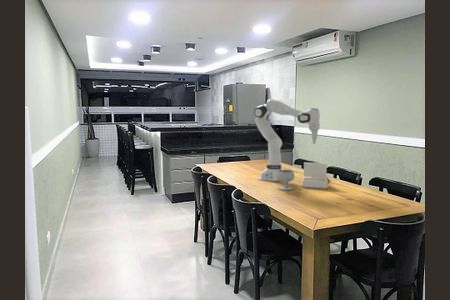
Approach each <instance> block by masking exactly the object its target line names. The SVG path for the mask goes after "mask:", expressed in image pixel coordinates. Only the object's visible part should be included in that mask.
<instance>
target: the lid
mask: <svg viewBox="0 0 450 300" xmlns="http://www.w3.org/2000/svg"><path fill="white" fill-rule="evenodd" d="M327 168H328V163H327V162H326V163H323V162H303V177H311V178H312V177H324V178H326V177H327Z"/></svg>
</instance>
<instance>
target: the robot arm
mask: <svg viewBox="0 0 450 300" xmlns="http://www.w3.org/2000/svg"><path fill="white" fill-rule="evenodd" d="M253 113H254V116H255V117H256V118H255V119H254V123H255V125H256V127H257V129H258V131H259V132H260V133H261V135H262V137H263V138H264V139H265V141H267V149H268V163H267V164H266V168H265V169H263V170H262V171H261V173H260V176H258V177H257V180H259V181H268V182H278V181H279V182H280V180H279V179H278V178H277V174H278V171H279V170H282V155H281V147H282V146H283V141H282V139H281V138H280V136H279V135H278V134H277V132H276V131H274V129H273V127H272V126H271V124H270V123H269V121H268V120H267V118H268V117H269V116H270V115H271V114H272V113H275V114H277V115H281V116H290V117H291V116H292V117H293V118H294V117H295V118H297V121H298V122H299V123H301V124H303V125H304V124H306V125H307V124H308V130H310V132H311V139H312V144H313V145H316V141H317V139H318V132H319V130H320V128H321V127H320V126H321V125H320V124H321V123H320V115H321V114H320V110H319V109H318V108H313V107H312V108H311V107H310V108H309V109H307V110H305V111H301V110H298V109H296V108H293V107H292V106H290V105H288V104H286V103H284V102H283V101H280V100H276V99H273V98H271V99H270V98H269V99H268V100H267V102H266V103H265V104H261V105H259V106H256V107H255V108H254V111H253Z"/></svg>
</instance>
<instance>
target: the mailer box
mask: <svg viewBox="0 0 450 300" xmlns="http://www.w3.org/2000/svg"><path fill="white" fill-rule="evenodd" d="M327 178H328V177H327ZM327 178H312V177H304V176H303V177H302V188H309V189H310V188H311V189H326V190H327V189H328V183H329V181H327Z"/></svg>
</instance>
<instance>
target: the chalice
mask: <svg viewBox="0 0 450 300" xmlns="http://www.w3.org/2000/svg"><path fill="white" fill-rule="evenodd" d="M277 178H278V179H279V181H281V182H282V183H283V184H284V186H279V187H278V188H277V189H278V190H280V191H291V190H294V188H293V187H290V186H288V183H291V182H292V181H293V180H294V179H295V173H294V171H293V170H291V169H281V170H279V171H278V174H277Z"/></svg>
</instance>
